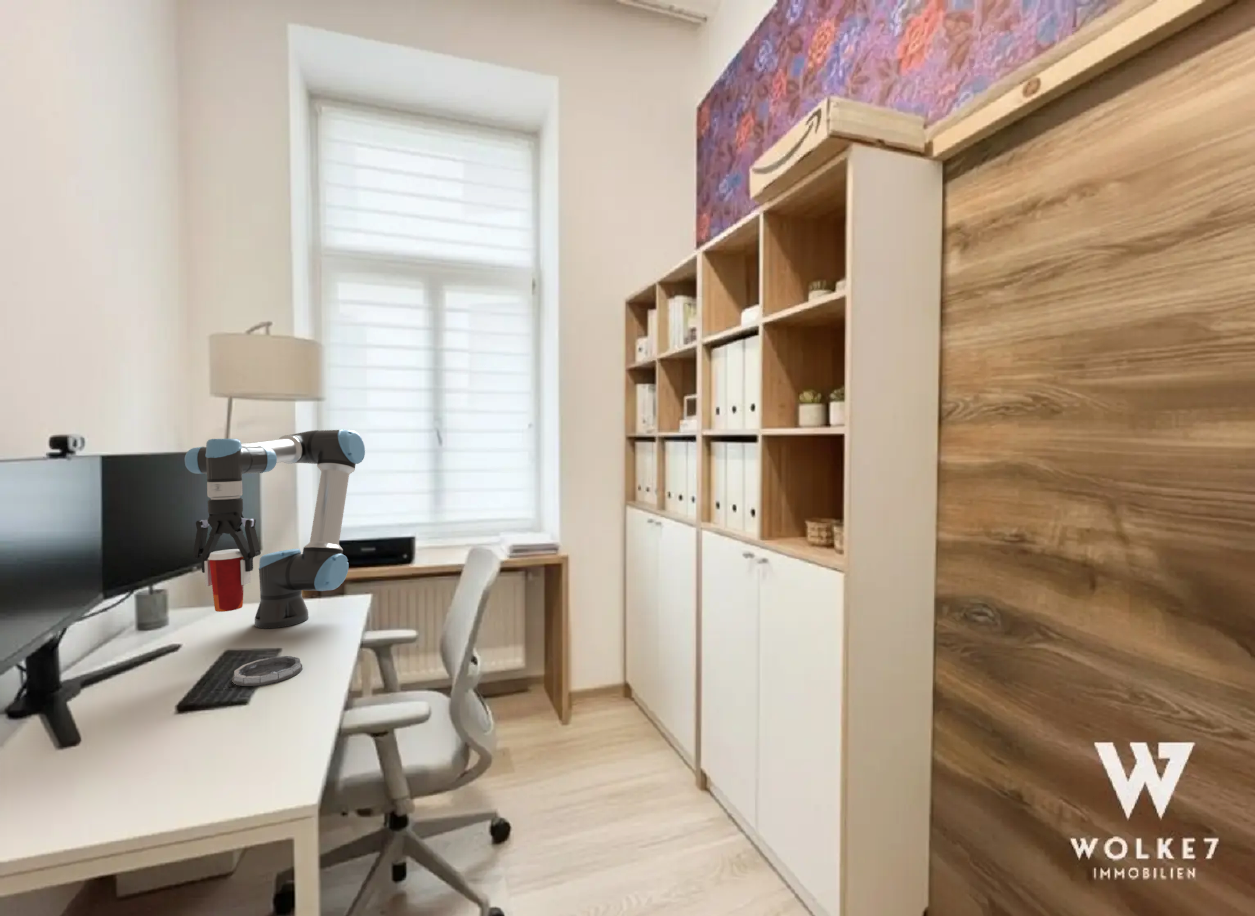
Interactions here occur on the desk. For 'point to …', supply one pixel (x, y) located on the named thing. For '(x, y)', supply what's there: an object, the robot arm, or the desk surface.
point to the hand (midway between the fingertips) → (228, 584)
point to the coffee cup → (226, 579)
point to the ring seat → (267, 671)
